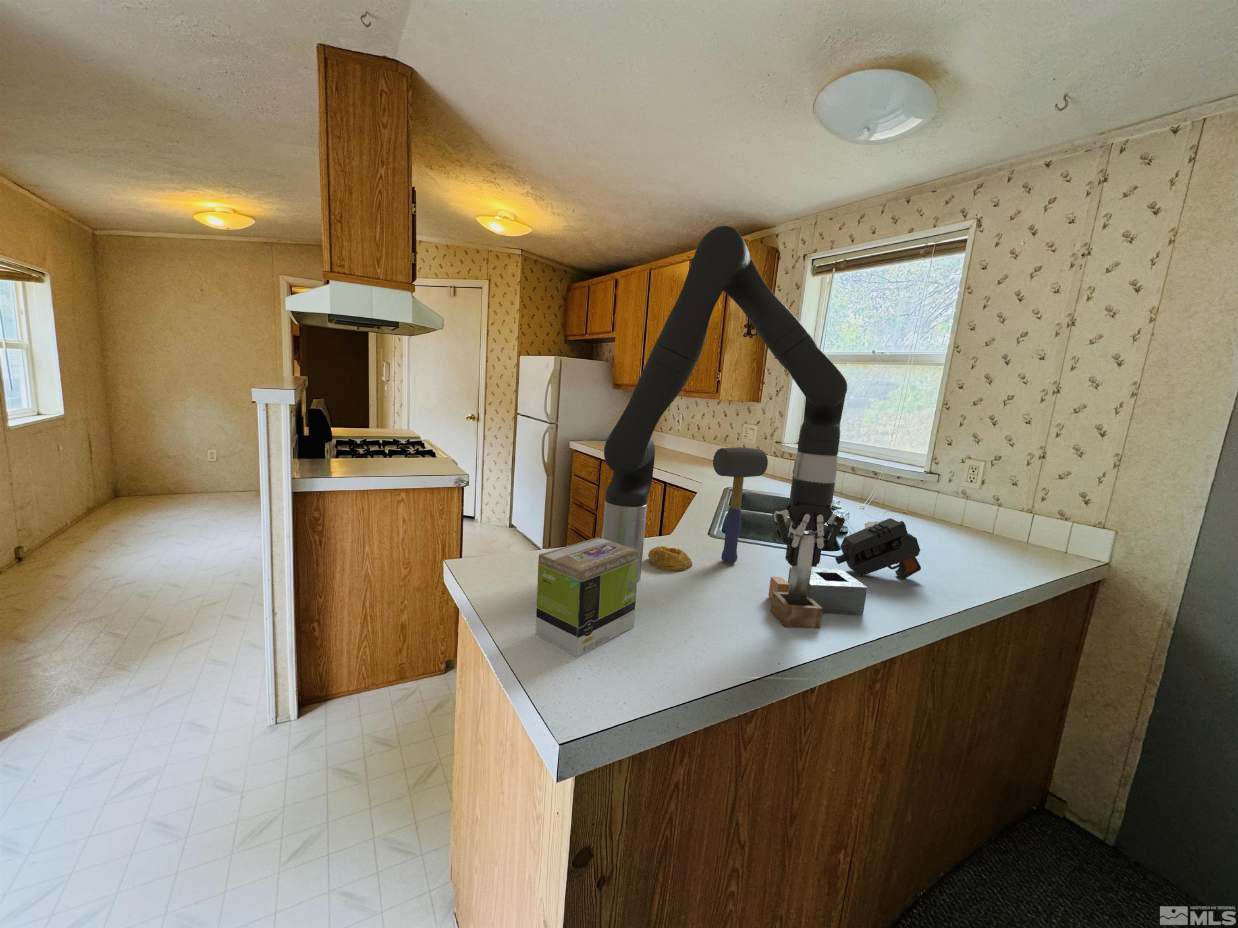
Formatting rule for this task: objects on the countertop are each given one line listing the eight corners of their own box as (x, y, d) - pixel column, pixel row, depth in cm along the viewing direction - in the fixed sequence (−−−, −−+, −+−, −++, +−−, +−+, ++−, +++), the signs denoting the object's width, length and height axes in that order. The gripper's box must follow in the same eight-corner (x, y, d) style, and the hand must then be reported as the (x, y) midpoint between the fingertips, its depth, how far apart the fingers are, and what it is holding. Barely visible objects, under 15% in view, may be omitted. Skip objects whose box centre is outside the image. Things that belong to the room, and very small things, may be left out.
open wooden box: (784, 626, 93) (787, 606, 92) (770, 610, 100) (772, 591, 99) (819, 628, 93) (822, 608, 93) (803, 611, 100) (805, 593, 100)
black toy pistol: (930, 573, 122) (910, 518, 120) (856, 601, 123) (835, 548, 121) (916, 564, 128) (897, 512, 126) (845, 591, 129) (826, 541, 127)
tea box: (593, 609, 94) (598, 534, 92) (635, 628, 88) (642, 549, 85) (532, 636, 82) (537, 551, 80) (575, 660, 76) (582, 569, 74)
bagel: (696, 575, 117) (698, 555, 116) (650, 572, 116) (651, 553, 115) (687, 560, 126) (689, 542, 126) (644, 558, 126) (646, 540, 125)
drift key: (775, 603, 102) (778, 583, 102) (768, 595, 106) (770, 576, 106) (818, 605, 103) (821, 585, 102) (810, 597, 107) (812, 578, 106)
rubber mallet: (716, 570, 120) (730, 448, 115) (699, 560, 127) (712, 444, 122) (757, 567, 125) (772, 450, 120) (739, 557, 132) (752, 445, 127)
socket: (806, 612, 100) (810, 584, 99) (786, 592, 110) (789, 566, 109) (862, 614, 101) (867, 587, 100) (837, 594, 111) (841, 569, 110)
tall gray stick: (791, 606, 94) (801, 535, 92) (784, 598, 98) (793, 529, 95) (809, 606, 94) (819, 536, 92) (801, 598, 98) (810, 530, 96)
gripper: (785, 478, 88) (773, 570, 91) (860, 483, 89) (847, 573, 92) (769, 471, 95) (759, 556, 98) (839, 475, 97) (827, 559, 99)
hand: (801, 564), depth 95 cm, fingers closed on tall gray stick, 3 cm apart
